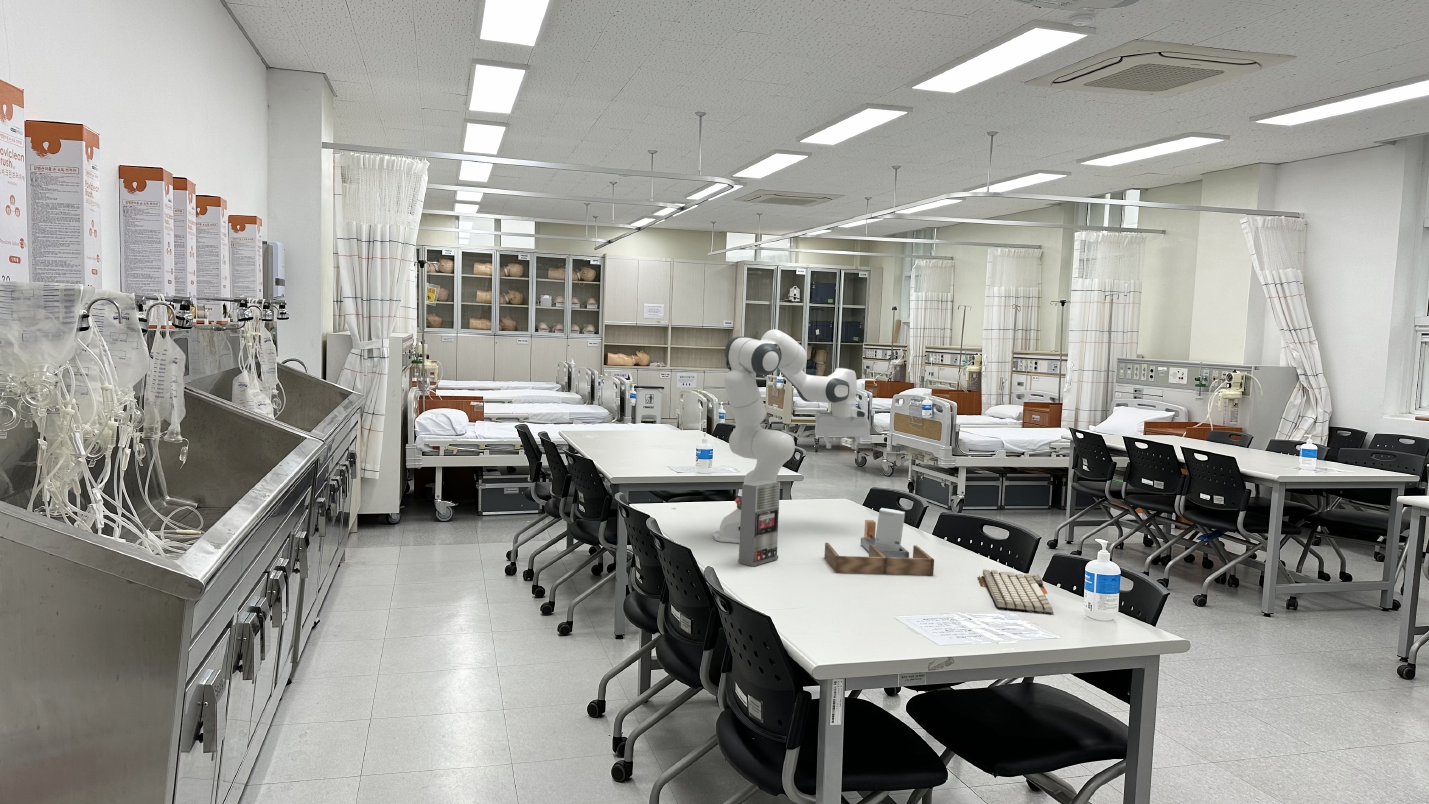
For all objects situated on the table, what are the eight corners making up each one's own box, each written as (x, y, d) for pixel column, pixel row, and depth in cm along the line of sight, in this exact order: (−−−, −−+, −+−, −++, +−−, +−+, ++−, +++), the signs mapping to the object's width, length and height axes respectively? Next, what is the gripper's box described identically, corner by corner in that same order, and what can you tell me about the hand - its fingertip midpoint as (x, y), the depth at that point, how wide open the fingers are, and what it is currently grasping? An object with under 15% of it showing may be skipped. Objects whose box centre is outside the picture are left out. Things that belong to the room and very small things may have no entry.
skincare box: (873, 553, 298) (877, 509, 298) (876, 550, 304) (880, 507, 303) (898, 557, 296) (903, 513, 295) (900, 554, 302) (905, 510, 301)
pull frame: (873, 557, 293) (875, 539, 293) (852, 535, 326) (853, 519, 326) (908, 558, 294) (909, 540, 294) (883, 536, 327) (884, 520, 326)
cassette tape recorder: (754, 567, 275) (758, 486, 273) (737, 563, 278) (741, 484, 277) (778, 560, 286) (782, 482, 284) (762, 556, 289) (766, 479, 288)
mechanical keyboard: (1065, 619, 237) (1066, 606, 237) (991, 612, 240) (992, 600, 240) (1039, 583, 274) (1039, 572, 274) (974, 578, 277) (975, 567, 277)
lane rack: (835, 572, 272) (836, 556, 272) (824, 557, 291) (825, 542, 291) (933, 575, 274) (934, 559, 274) (915, 560, 293) (916, 545, 293)
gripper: (817, 411, 328) (815, 448, 329) (872, 413, 330) (869, 450, 331) (814, 409, 335) (812, 446, 335) (868, 412, 336) (866, 448, 337)
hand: (841, 448), depth 333 cm, fingers open, 8 cm apart
